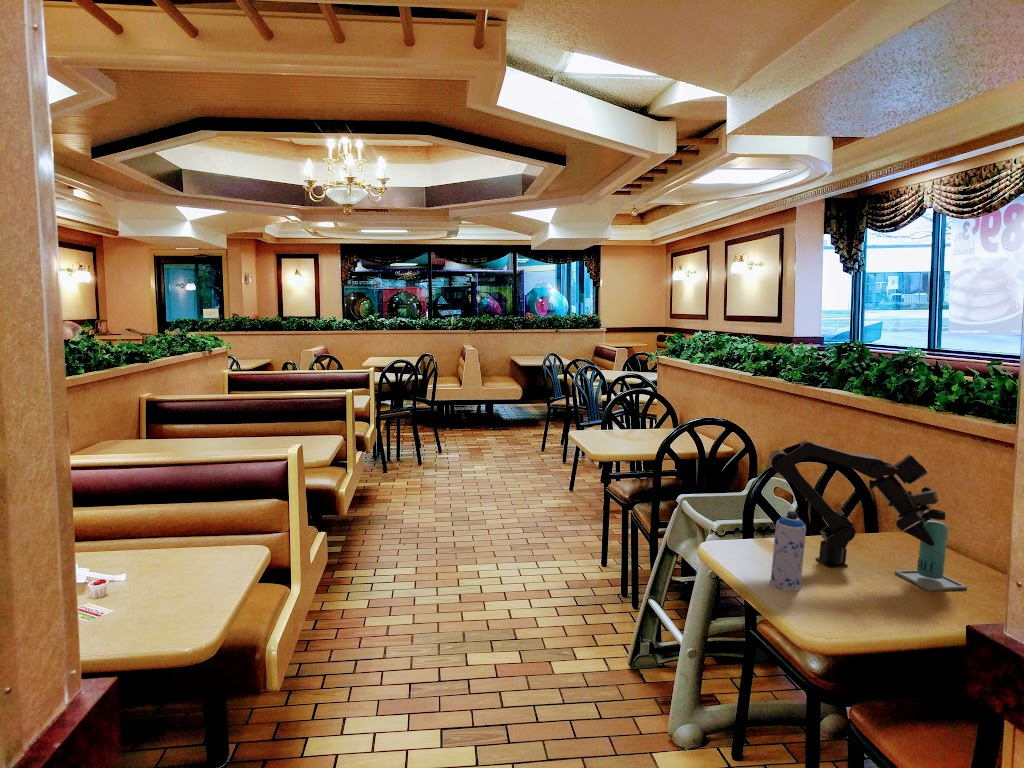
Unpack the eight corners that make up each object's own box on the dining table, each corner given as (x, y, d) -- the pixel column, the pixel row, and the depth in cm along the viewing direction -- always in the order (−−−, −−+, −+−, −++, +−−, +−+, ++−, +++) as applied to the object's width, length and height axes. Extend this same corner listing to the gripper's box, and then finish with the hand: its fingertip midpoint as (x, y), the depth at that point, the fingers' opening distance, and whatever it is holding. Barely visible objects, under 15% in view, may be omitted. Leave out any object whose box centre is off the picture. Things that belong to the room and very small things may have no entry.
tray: (928, 591, 184) (928, 587, 183) (894, 573, 195) (895, 570, 195) (966, 589, 186) (967, 586, 186) (931, 572, 198) (931, 569, 198)
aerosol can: (787, 578, 188) (794, 507, 186) (807, 589, 181) (815, 515, 179) (763, 580, 186) (770, 508, 183) (783, 591, 178) (790, 517, 176)
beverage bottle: (940, 578, 192) (949, 509, 190) (944, 586, 186) (953, 515, 184) (914, 573, 195) (922, 505, 193) (917, 581, 189) (925, 511, 187)
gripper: (914, 484, 183) (958, 533, 178) (926, 473, 198) (966, 519, 192) (879, 506, 189) (920, 555, 184) (892, 494, 204) (931, 539, 198)
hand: (935, 541), depth 189 cm, fingers open, 9 cm apart
